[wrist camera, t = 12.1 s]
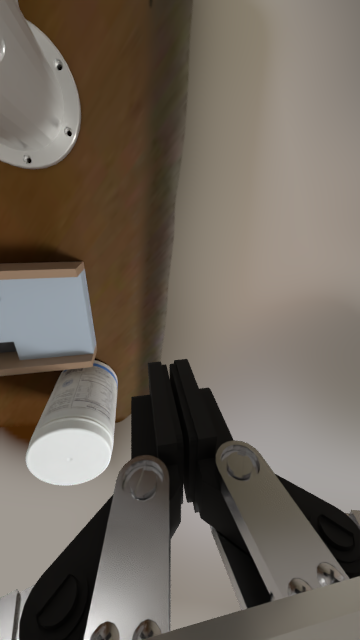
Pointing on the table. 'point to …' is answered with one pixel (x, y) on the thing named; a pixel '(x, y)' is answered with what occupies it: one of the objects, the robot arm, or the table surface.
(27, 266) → the box
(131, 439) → the robot arm
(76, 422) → the supplement tub
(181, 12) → the table surface
